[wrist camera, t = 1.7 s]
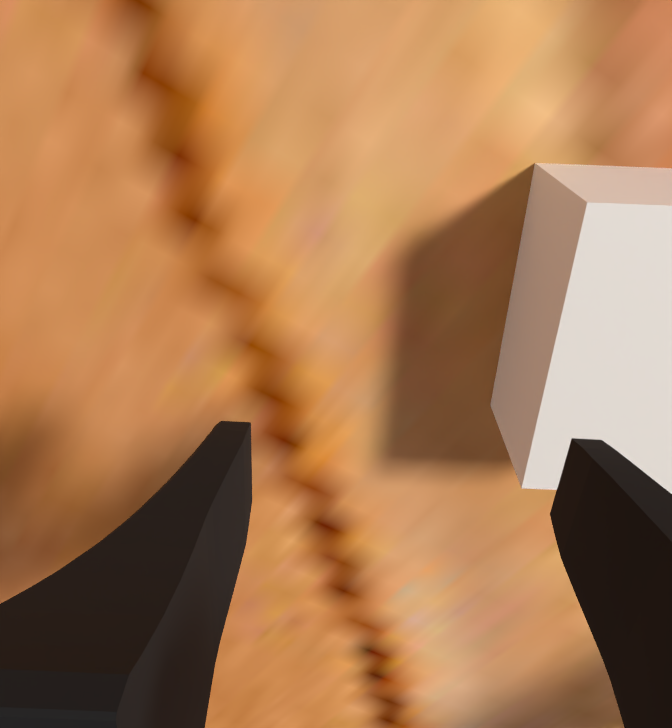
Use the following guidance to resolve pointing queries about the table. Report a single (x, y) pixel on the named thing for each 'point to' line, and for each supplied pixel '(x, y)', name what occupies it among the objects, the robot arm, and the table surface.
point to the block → (590, 322)
